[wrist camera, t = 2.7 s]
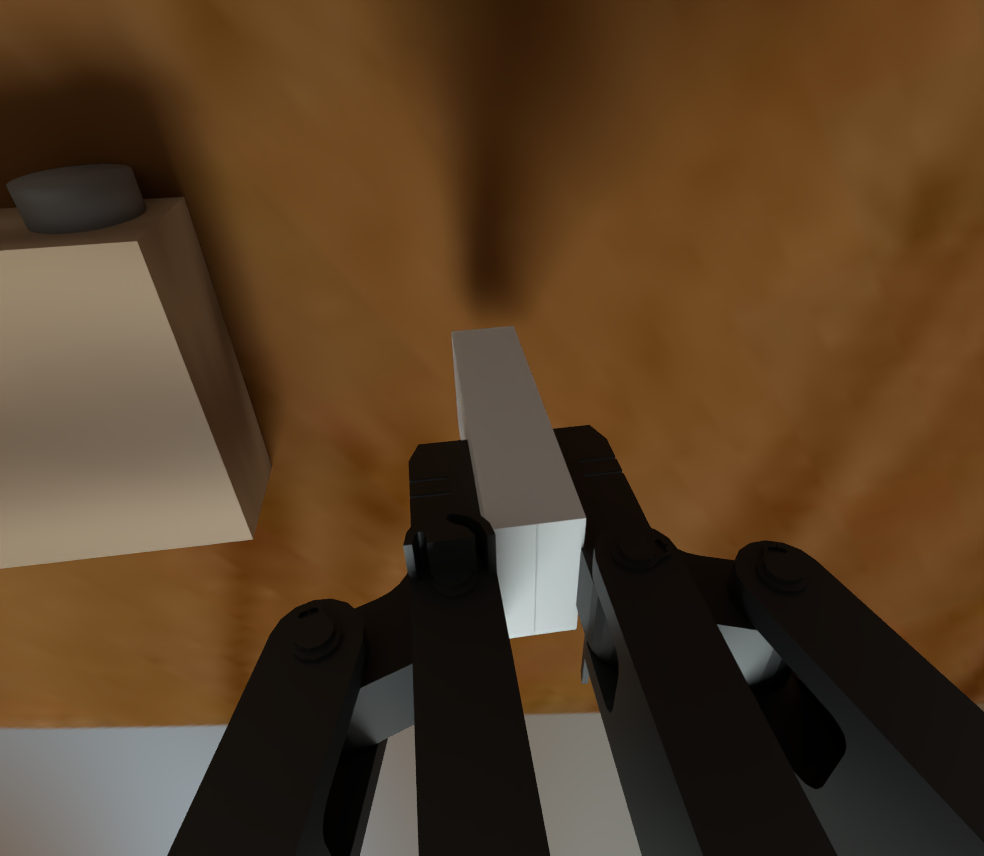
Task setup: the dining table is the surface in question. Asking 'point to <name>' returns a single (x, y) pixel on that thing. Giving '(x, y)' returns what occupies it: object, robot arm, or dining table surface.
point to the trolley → (116, 378)
